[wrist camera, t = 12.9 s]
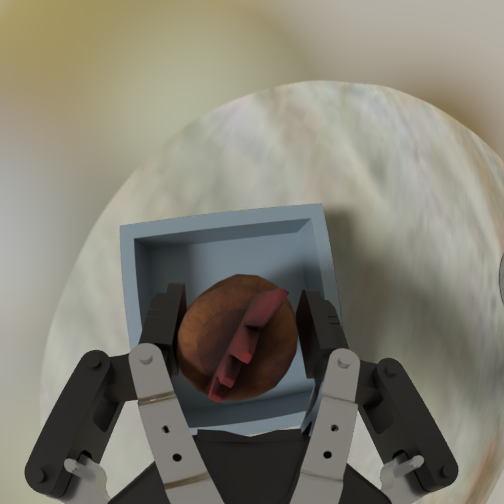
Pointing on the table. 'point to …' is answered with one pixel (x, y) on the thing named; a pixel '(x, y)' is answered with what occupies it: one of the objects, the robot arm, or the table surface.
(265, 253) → the box
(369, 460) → the table surface
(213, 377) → the wooden figurine
